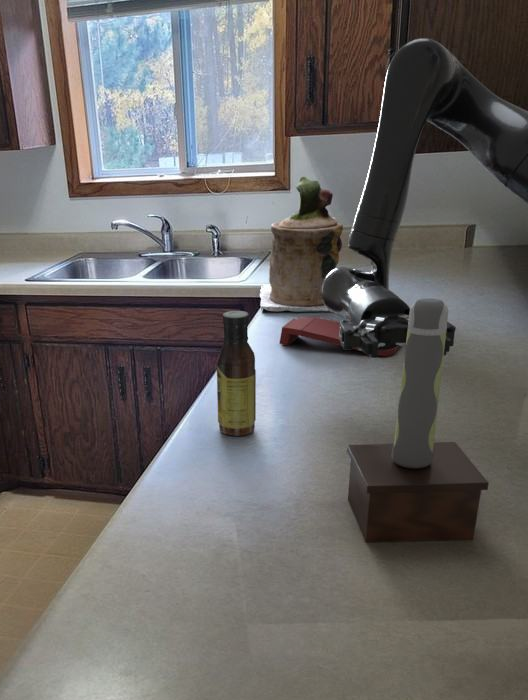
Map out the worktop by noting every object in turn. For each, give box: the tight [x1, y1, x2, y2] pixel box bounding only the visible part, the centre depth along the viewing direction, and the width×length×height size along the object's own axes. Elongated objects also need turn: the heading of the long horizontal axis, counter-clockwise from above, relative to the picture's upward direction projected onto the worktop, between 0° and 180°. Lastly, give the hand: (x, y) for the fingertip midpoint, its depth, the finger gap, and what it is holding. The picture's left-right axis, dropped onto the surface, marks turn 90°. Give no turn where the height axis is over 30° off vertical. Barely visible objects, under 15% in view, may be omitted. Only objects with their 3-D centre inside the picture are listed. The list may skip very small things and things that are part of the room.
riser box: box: [346, 441, 489, 543], centre depth 93 cm, size 14×12×8 cm
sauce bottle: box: [216, 310, 257, 437], centre depth 119 cm, size 7×6×20 cm
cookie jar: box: [259, 176, 344, 313], centre depth 196 cm, size 25×25×32 cm
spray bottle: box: [392, 298, 449, 469], centre depth 87 cm, size 5×5×20 cm
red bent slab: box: [279, 316, 401, 357], centre depth 165 cm, size 12×5×25 cm
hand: (409, 349), depth 92 cm, fingers open, 8 cm apart
